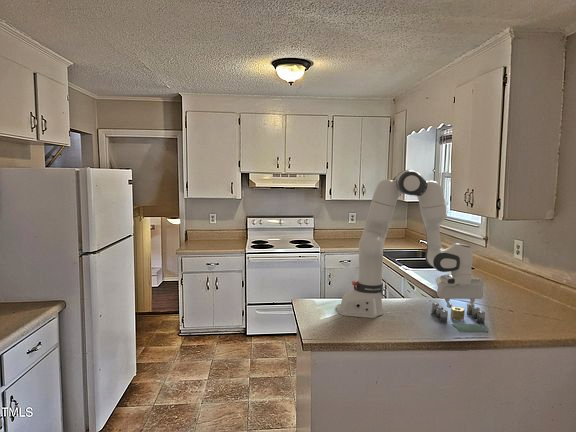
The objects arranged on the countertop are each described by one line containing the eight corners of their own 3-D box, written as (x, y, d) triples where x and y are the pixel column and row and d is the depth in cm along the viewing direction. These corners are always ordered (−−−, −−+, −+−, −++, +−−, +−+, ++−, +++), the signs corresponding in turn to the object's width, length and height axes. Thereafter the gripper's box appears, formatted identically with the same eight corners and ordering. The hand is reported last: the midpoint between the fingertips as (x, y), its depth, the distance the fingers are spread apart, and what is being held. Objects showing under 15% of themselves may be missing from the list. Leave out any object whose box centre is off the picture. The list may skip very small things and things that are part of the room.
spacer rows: (441, 323, 176) (442, 312, 176) (430, 312, 189) (431, 302, 189) (485, 323, 177) (486, 313, 176) (471, 313, 190) (472, 303, 189)
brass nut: (454, 320, 180) (455, 310, 180) (449, 315, 186) (449, 306, 185) (465, 320, 180) (466, 311, 180) (459, 316, 186) (460, 306, 186)
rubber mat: (459, 331, 167) (459, 330, 167) (451, 324, 175) (451, 323, 175) (487, 332, 167) (487, 331, 167) (478, 325, 175) (478, 324, 175)
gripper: (480, 276, 184) (478, 305, 186) (436, 276, 184) (435, 305, 185) (486, 280, 178) (485, 309, 179) (441, 280, 177) (440, 309, 179)
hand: (459, 307), depth 182 cm, fingers open, 8 cm apart
